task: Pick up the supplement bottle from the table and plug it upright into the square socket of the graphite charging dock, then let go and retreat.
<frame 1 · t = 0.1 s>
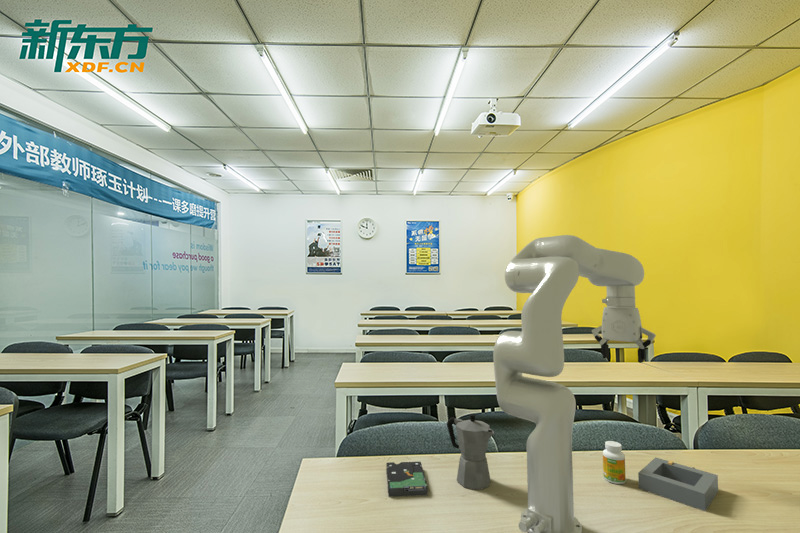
hand: (622, 359, 116), 31 cm above the table, tool pointing down, fingers open, 9 cm apart
supplement bottle: (614, 480, 106), on the table
disk drive: (405, 484, 105), on the table
coffeepot: (470, 480, 106), on the table
charging dock: (678, 489, 101), on the table
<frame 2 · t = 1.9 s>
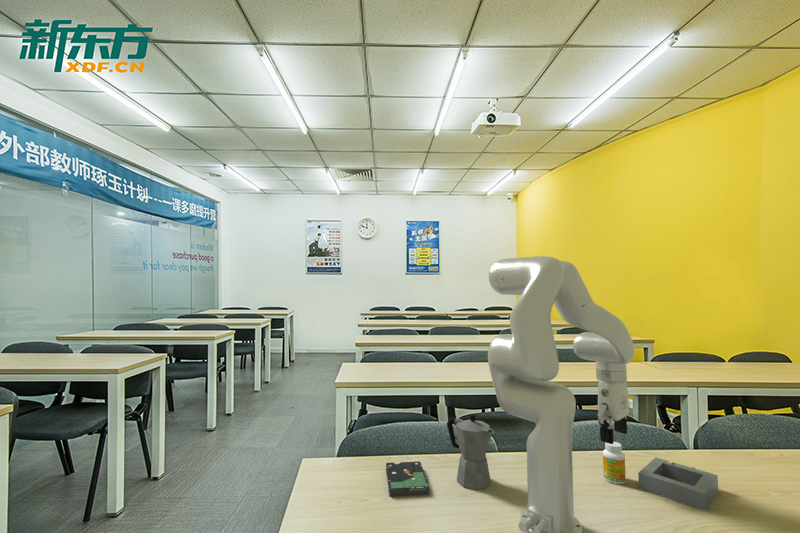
hand: (614, 437, 107), 11 cm above the table, tool pointing down, fingers open, 9 cm apart
nothing on the table moved.
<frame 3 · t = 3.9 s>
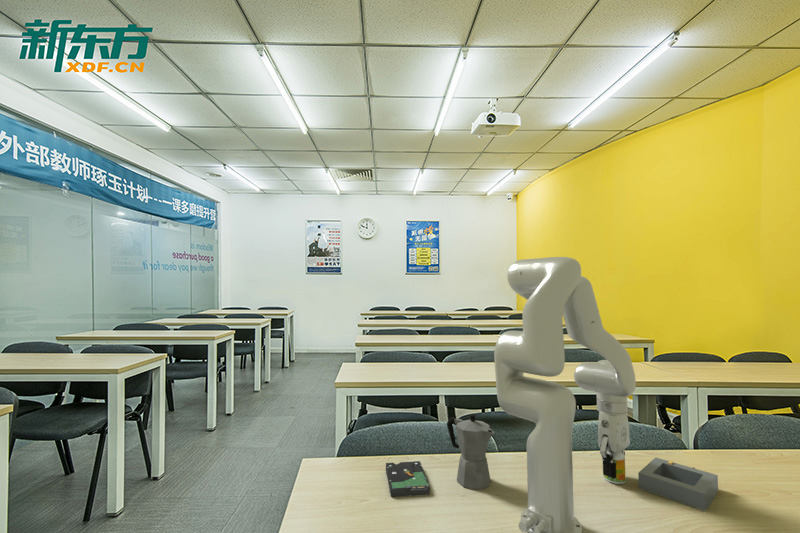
hand: (614, 472, 106), 2 cm above the table, tool pointing down, fingers closed on supplement bottle, 5 cm apart
supplement bottle: (614, 480, 106), on the table, touching gripper
everything else where it was.
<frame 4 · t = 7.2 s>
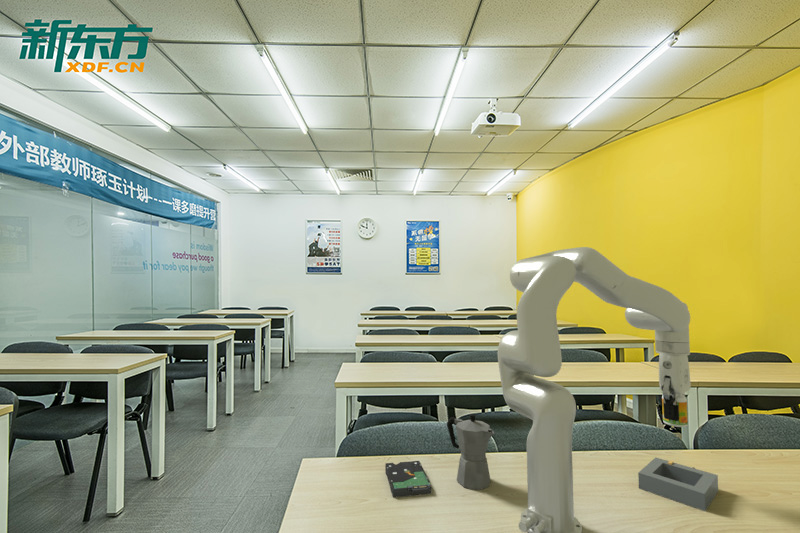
hand: (675, 416, 102), 19 cm above the table, tool pointing down, fingers closed on supplement bottle, 5 cm apart
supplement bottle: (675, 424, 102), point 17 cm above the table, touching gripper
everything else where it was.
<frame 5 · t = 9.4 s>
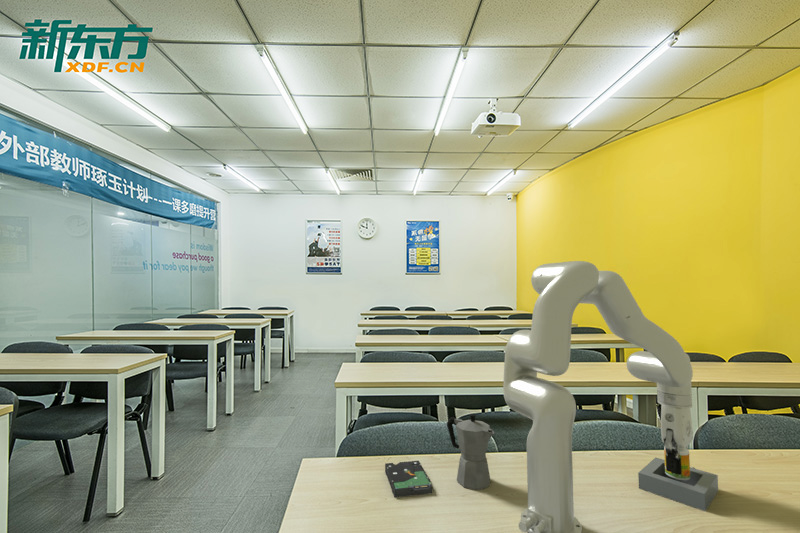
hand: (677, 468, 101), 5 cm above the table, tool pointing down, fingers closed on supplement bottle, 5 cm apart
supplement bottle: (677, 476, 101), point 3 cm above the table, touching gripper
everything else where it was.
when the fingers open (4 cm above the table, at t = 10.9 s): supplement bottle drops 2 cm, resting in charging dock.
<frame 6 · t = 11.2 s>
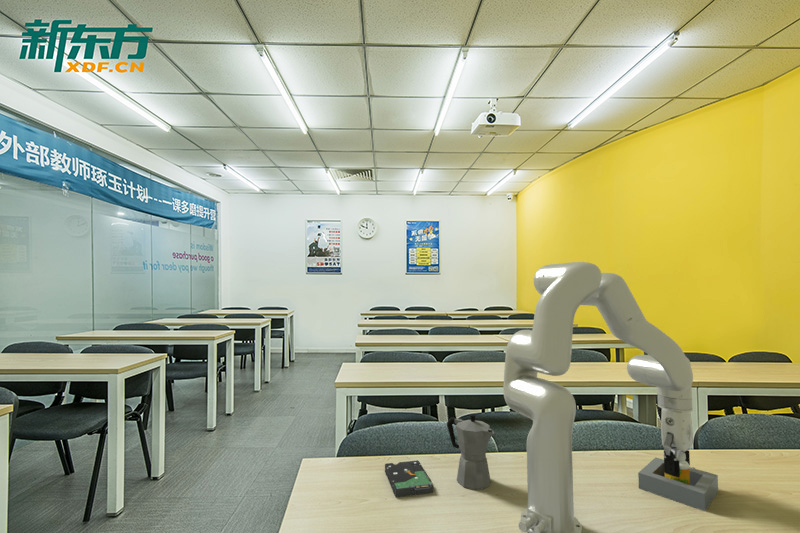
hand: (677, 469, 101), 5 cm above the table, tool pointing down, fingers open, 8 cm apart
supplement bottle: (677, 490, 101), resting in charging dock
everything else where it was.
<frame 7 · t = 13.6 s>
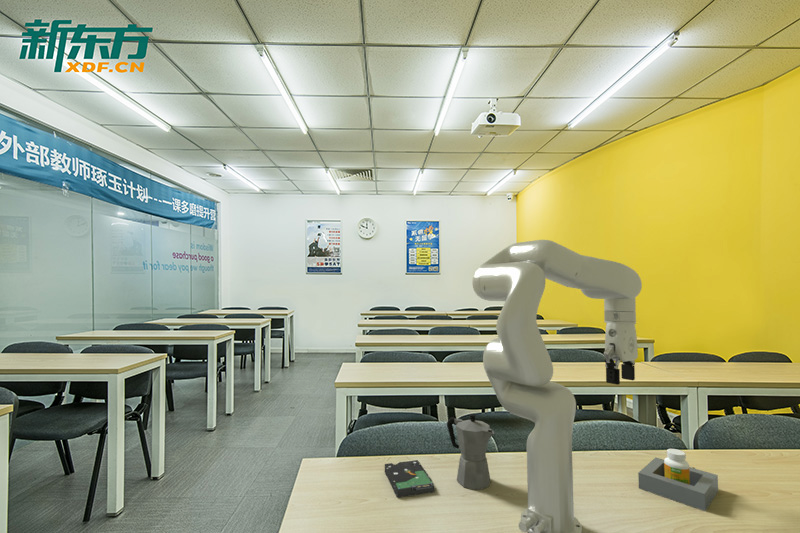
hand: (620, 381, 104), 27 cm above the table, tool pointing down, fingers open, 9 cm apart
nothing on the table moved.
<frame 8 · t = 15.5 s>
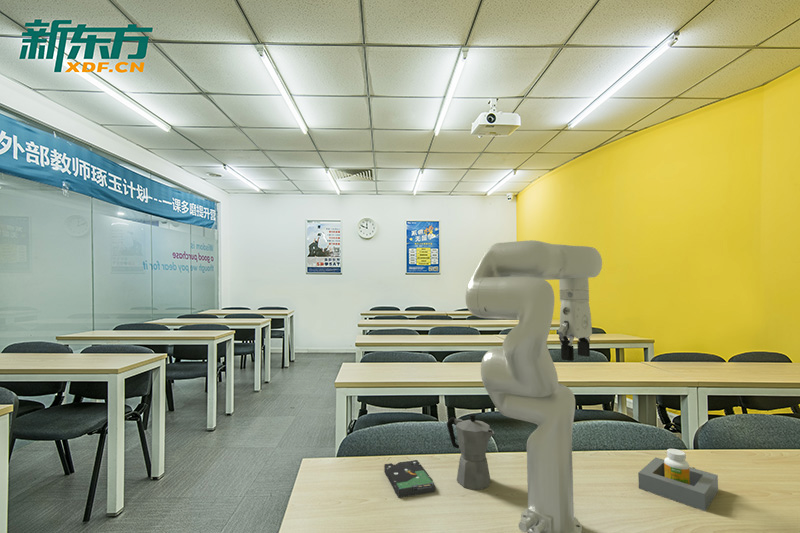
hand: (575, 357, 107), 33 cm above the table, tool pointing down, fingers open, 9 cm apart
at the end: supplement bottle 0.2 cm off-centre on the charging dock, point 0.0 cm above the charging dock's base; supplement bottle tilted 0°; the gripper is holding nothing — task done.
